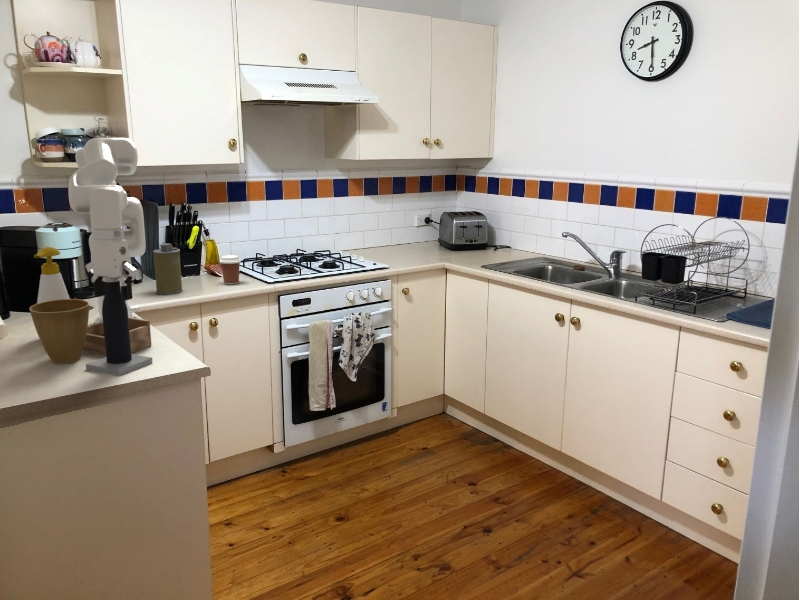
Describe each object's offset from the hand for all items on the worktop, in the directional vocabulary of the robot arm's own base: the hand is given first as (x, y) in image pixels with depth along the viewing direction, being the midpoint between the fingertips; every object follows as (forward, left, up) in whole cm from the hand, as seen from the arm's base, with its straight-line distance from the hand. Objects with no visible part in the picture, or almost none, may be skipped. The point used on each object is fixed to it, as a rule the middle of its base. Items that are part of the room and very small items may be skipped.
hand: (113, 297), depth 178 cm
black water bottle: (0, 0, -18) cm, 18 cm away
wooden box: (-12, -14, -19) cm, 27 cm away
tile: (0, 0, -19) cm, 19 cm away
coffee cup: (-104, -43, -19) cm, 114 cm away
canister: (-79, -55, -19) cm, 98 cm away
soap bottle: (-10, -37, -19) cm, 43 cm away
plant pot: (+2, -18, -19) cm, 27 cm away
